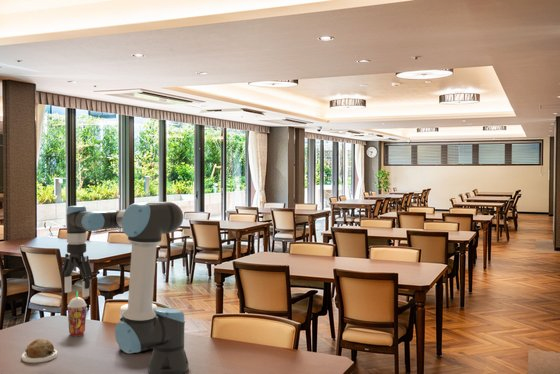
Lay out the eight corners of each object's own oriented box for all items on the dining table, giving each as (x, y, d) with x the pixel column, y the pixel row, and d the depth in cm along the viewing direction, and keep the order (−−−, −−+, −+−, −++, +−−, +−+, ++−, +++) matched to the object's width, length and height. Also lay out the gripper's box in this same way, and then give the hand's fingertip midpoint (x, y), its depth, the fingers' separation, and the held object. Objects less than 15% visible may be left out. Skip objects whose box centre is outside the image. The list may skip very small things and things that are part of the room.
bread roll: (38, 368, 219) (46, 350, 218) (17, 355, 221) (25, 337, 220) (53, 360, 229) (61, 343, 228) (33, 347, 230) (41, 330, 229)
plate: (63, 357, 225) (63, 353, 225) (31, 365, 215) (31, 361, 215) (47, 350, 234) (47, 346, 234) (16, 357, 224) (16, 353, 224)
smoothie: (66, 333, 258) (66, 290, 258) (85, 331, 262) (85, 288, 261) (67, 338, 251) (68, 293, 250) (87, 336, 254) (87, 292, 254)
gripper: (101, 244, 226) (101, 296, 226) (69, 240, 241) (69, 289, 242) (85, 246, 220) (85, 299, 220) (52, 241, 236) (52, 291, 236)
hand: (76, 294), depth 231 cm, fingers open, 13 cm apart
